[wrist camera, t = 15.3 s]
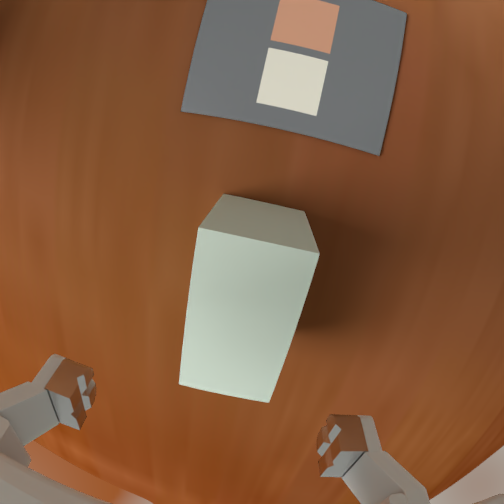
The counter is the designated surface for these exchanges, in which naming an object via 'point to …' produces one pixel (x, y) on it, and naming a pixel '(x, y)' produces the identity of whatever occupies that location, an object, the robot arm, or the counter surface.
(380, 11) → the card
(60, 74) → the counter surface
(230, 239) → the sage block
